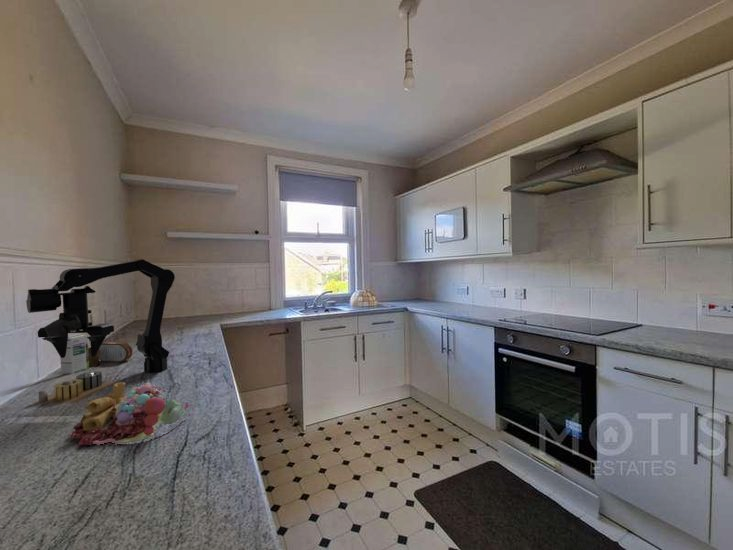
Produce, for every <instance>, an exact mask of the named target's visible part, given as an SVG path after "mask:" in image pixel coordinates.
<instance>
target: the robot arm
mask: <svg viewBox="0 0 733 550" xmlns="http://www.w3.org/2000/svg"><path fill="white" fill-rule="evenodd" d="M134 272H140V273H141V274H143V275H145V276H146V277H148V278H150V287H151V291H152V293H151V299H150V303H149V310H148V315H147V320H146V324H145V325H146V326H145V330H144V331H143V332H142V334H141V333H140V334H139V333H138V334H137V338H136V339H137V341H136V343H135V346H136V349H137V350H138V352H139V353H141V354H143V357H144V362H143V372H144V373H148V374H157V373H163V372H165V371H166V370H168V358H169V354H170V351H169V350H167V349H166V348H164V347H163V338H162V334H161V333H162V332H161V328H162V327H161V326H162V322H163V316H164V311H165V304H166V301H167V296H168V295H167V294H168V293H169V291H170V290H171V288H172V286H173V283H175V279H176V277H175V276H176V275H175V273H174V272H173V271H172V270H171V269H166V268H163V267H161V266H158V265H156V264H154V263H151V262H150V261H148V260H146V259H143V258H142V259H141V258H140V259H135V260H131V261H127V262H120V263H116V264H110V265H104V266H98V267H86V268H68V269H65V270H63V271H62V272H61V273H60V275H59V280H58V281H57V282H56V283H55V284H54V285H53V287H51V288H42V289H36V288H30V289H29V288H28V289H27V297H26V299H27V300H25V302H26V309H27V312H28V313H29V314H31V313H40V312H41V313H42V312H52V311H53V312H54V311H57V309H58V308H60V307H62V308H63V309H62V310H63V312H59V314H58V319H56V320H54V321H52V322H51V323H49V324H47V325H46V326H44V327H40V328H39V329H38V330H37V338H42V340H43V341H46V342H47V341H48V342H49V343H51V344H52V346H53V347H54V349H55V350H56V351H57V354H58V355H59V357H61V358H64V357H65V355H66V350H67V341H68V336H69V334H87V335H88V337H87V338H88V341H90V342H89V343H90V347H91V355H92V357H94V356H96V354H97V352H98V350H99V348H100V346H101V344H102V343H104V342H105V341H104V340H105V339H106V338H107V336H108V335H109V336H110V335H111V333H114V332H115V326H114V325H113V324H112V323H98V324H93V321H91V322H90V321H89V319H90V318H89V314H92V309H89V305H88V304H89V303H88V300H89V299H88V294H94V293H96V290H95V289H93V288H91V286H89V284H92V283H94V282H96V281H99V280H102V279H105V278H110V277H115V276H120V275H125V274H129V273H134ZM83 286H84V287H83ZM81 287H83V288H81ZM68 291H69V292H68Z"/></svg>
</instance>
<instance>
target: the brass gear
mask: <svg viewBox="0 0 733 550" xmlns="http://www.w3.org/2000/svg"><path fill="white" fill-rule="evenodd" d="M71 380H72V381H73V384H69V385H65V384H64V382H66V381H67V380H66V381H65V380H64V381H61V382H59V383H55V385H53V389H54V390H53V395H54V398H55V400H56V401H57V400H58V401H62V400H69V399H73V398H76V397H79V396H81V395H83V380H80V379H69V380H68V381H71Z"/></svg>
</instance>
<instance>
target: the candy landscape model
mask: <svg viewBox="0 0 733 550" xmlns="http://www.w3.org/2000/svg"><path fill="white" fill-rule="evenodd" d="M157 385H158V383H155V384H151V383H149V382H144V384H141V383H140V384H138V386H135V387H133V388H132V389H130V391H129V392H128V394H124V391H125V388H126V382H123V381H118V382H117V383H115V384H113V385H112V392H113V393H108V394H106V395H105V396H106V397H99V398H96V399H92V400H91V401H90V402H88V403H87V404H86V405H85V407H84V409H85V410H87V411H88V412H86V413H84V415H83V416H82V418H81V419H80V421H79V422H78V423H76V425H74V427H73V431H71V432H70V438H71V439H70V441H69V443H73V442H75V441H77V440H79V439H80V440H79V442H78V443H77V445H76V446H77V447H78V446H79V447H81V446H83V447H85V445H86V446H87V445H90V446H92V444H97V445H96V446H101V445H100V444H103V445H105V444H104V443H107V442H112V443H115V444H118V443H127V442H134V441H138V440H142V439H148V438H149V437H151V436H153V435H154V433H156V432H157V431H154V430H155V429H156V427H155V426H156V425H157V424H158V423H161V424H164V425H166V424H172V423H174V422H176V421H177V420H179V419H180V418H181V417H182V416H183V415H184V413H185V412H186V410H185V409H186V408H188V406H189V405H190V404H189V401H187V402H186V403H185V404H183V403H182V401H180V400H179V401H178V400H177V399H174V398H171V400H170V398H169V396H168V395H167V394H166V395H165V394H164V393H163V390H162V387H160V386H157ZM157 387H159V388H158V389H159V390H158V389H157ZM183 405H185V409H183V407H184V406H183ZM162 420H163V421H162ZM157 426H158V425H157ZM112 443H111V444H112ZM107 444H108V443H107ZM115 444H114V445H115ZM87 447H88V446H87Z"/></svg>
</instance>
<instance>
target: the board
mask: <svg viewBox="0 0 733 550" xmlns="http://www.w3.org/2000/svg"><path fill="white" fill-rule="evenodd" d="M70 380H71V381H69V380H66V382H64V381H63V382H64V384H65V385H69V384H73V381H72V380H73V379H70ZM116 383H118V381H102V385H101V386H100V387H97V388H94V389H90V390H83V395H81V396H79V397H76V398H73V399H69V400H62V401H58V400H57V401H56V400H55V398H54V394H52V395H50V396H48V390H47V389H44V390H40V391H38V400H37V401H35V402H33V404H34V405H36V404H60V403H61V404H63V403H64V404H65V403H66V404H67V403H79V402H80V401H82V400H84V399H87V398H88V397H90V396H92V395H95V394H96V393H99V392H100V391H103V390H104V389H107V388H109V387H111V386H114V385H115V384H116Z"/></svg>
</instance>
